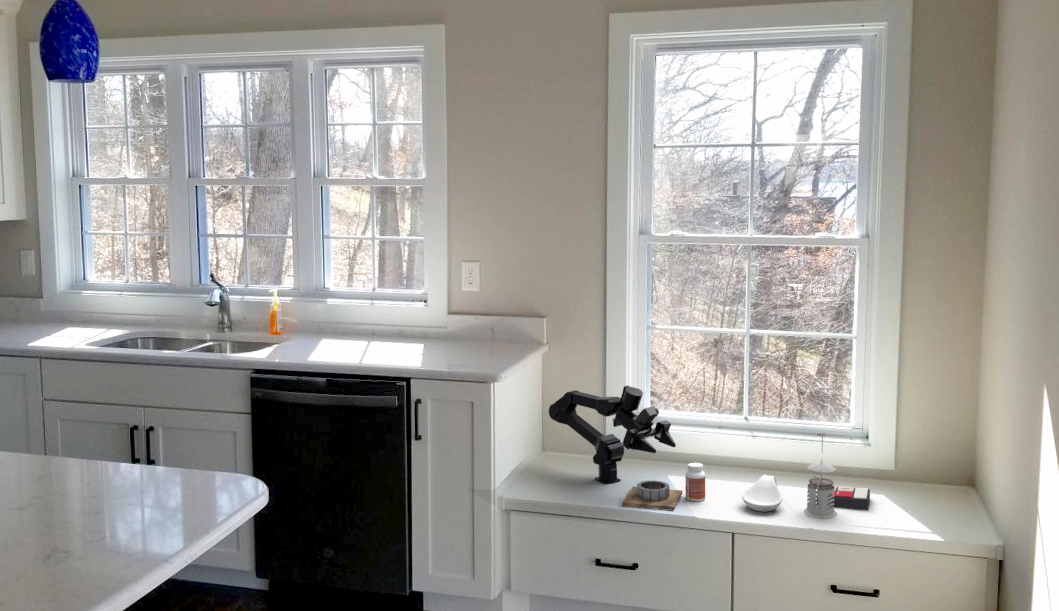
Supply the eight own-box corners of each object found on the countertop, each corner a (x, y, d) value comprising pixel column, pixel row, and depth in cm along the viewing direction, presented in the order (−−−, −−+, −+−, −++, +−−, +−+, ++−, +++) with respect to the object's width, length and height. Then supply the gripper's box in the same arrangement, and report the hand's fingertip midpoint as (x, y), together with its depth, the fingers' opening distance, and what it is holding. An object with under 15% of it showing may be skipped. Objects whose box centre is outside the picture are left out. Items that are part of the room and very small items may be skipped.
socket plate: (622, 505, 302) (622, 502, 301) (633, 489, 317) (633, 486, 317) (674, 510, 297) (674, 506, 297) (682, 494, 312) (682, 490, 312)
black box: (819, 483, 310) (869, 486, 304) (820, 497, 310) (870, 499, 305) (816, 494, 300) (867, 497, 294) (816, 508, 300) (868, 511, 295)
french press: (841, 510, 295) (843, 430, 292) (830, 522, 285) (833, 439, 282) (808, 505, 300) (810, 425, 297) (797, 516, 290) (799, 434, 287)
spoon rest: (779, 517, 290) (780, 494, 289) (739, 513, 294) (739, 490, 293) (787, 493, 312) (788, 471, 311) (750, 489, 316) (751, 468, 315)
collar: (630, 494, 308) (630, 483, 308) (656, 489, 313) (656, 478, 313) (649, 503, 300) (649, 492, 299) (675, 497, 305) (675, 487, 304)
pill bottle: (709, 499, 306) (709, 465, 305) (694, 503, 303) (695, 468, 302) (695, 494, 312) (696, 460, 310) (681, 498, 308) (681, 463, 307)
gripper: (618, 406, 307) (652, 433, 297) (658, 396, 319) (692, 422, 309) (608, 435, 311) (642, 463, 301) (648, 425, 323) (682, 451, 313)
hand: (665, 448), depth 306 cm, fingers open, 9 cm apart
